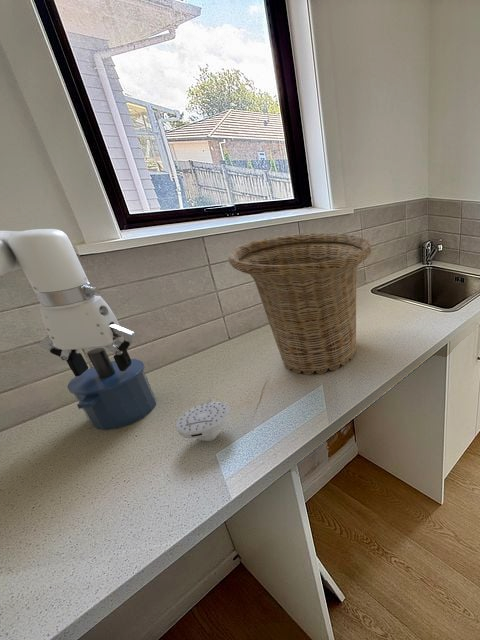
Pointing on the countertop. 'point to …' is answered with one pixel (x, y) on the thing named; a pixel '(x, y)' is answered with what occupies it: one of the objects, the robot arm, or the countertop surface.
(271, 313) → the wicker basket
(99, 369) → the lid
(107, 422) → the pot
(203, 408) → the showerhead
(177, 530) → the countertop surface
